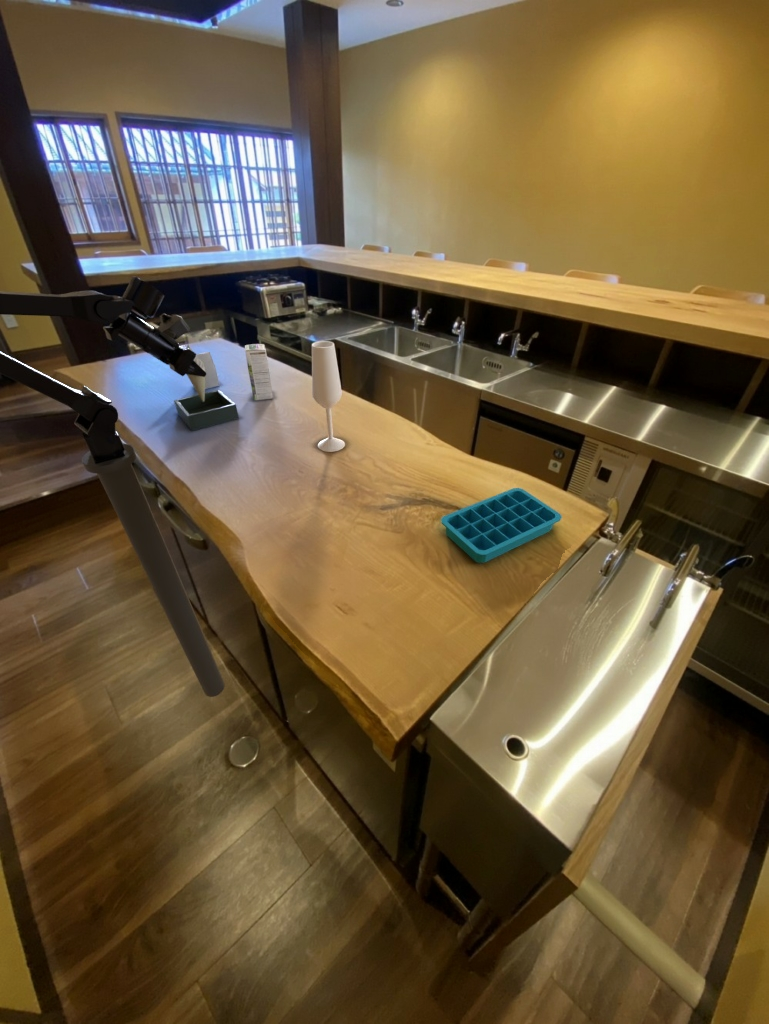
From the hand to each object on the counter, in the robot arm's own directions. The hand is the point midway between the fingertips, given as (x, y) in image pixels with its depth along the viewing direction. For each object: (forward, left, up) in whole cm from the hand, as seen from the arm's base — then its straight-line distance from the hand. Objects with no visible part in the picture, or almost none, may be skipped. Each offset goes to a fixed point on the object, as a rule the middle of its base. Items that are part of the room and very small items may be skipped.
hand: (201, 372), depth 110 cm
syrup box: (+17, +4, -12) cm, 21 cm away
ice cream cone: (-1, 0, -8) cm, 8 cm away
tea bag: (+6, +22, -12) cm, 26 cm away
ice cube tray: (+26, -81, -12) cm, 86 cm away
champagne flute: (+18, -34, -12) cm, 40 cm away
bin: (-1, 0, -12) cm, 12 cm away
